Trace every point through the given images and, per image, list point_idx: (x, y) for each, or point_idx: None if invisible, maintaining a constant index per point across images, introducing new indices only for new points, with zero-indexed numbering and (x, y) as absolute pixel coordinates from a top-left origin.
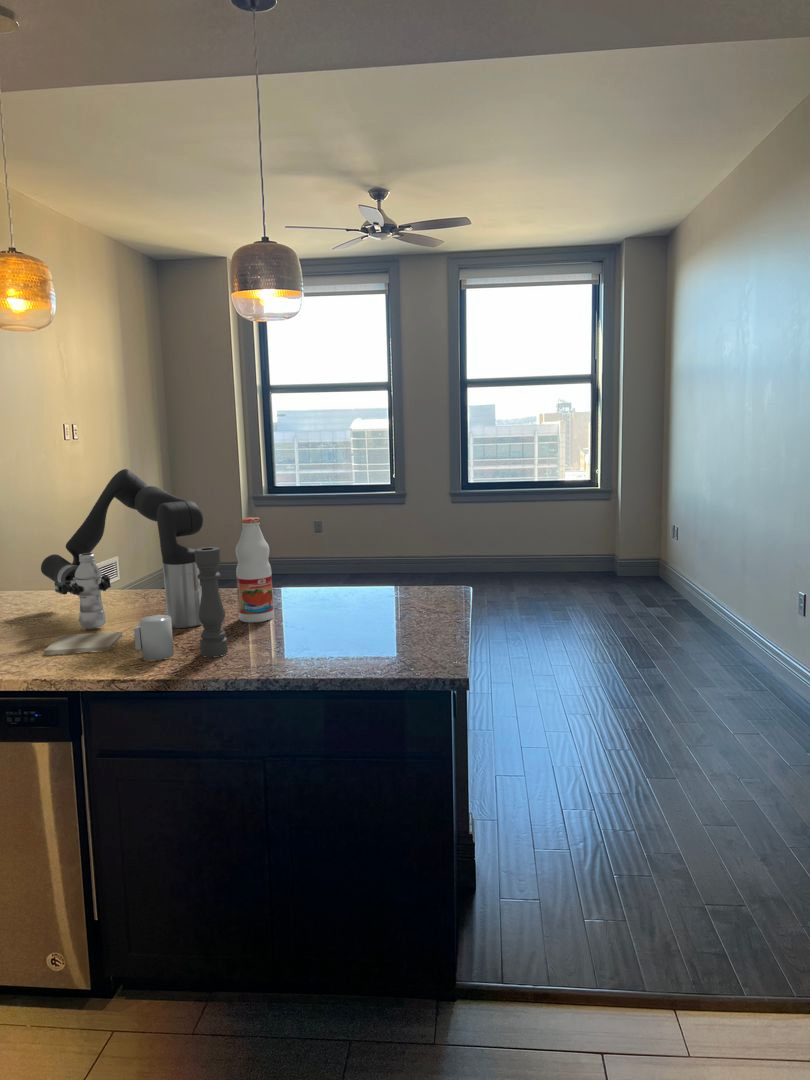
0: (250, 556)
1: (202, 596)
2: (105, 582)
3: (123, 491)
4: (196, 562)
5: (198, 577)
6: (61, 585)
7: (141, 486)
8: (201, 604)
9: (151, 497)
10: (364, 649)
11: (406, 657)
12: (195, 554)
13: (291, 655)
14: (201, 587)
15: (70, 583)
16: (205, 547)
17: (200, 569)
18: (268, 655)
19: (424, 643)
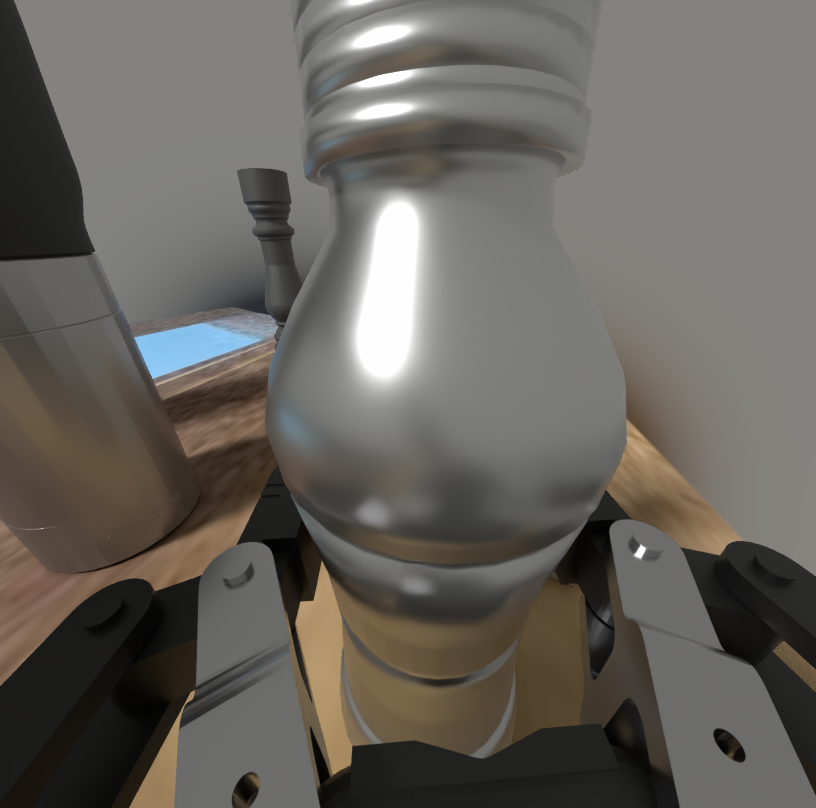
0: None
1: (295, 267)
2: (257, 509)
3: None
4: (289, 199)
5: (293, 230)
6: (797, 565)
7: None
8: (300, 281)
9: None
10: (192, 333)
11: (202, 321)
12: (286, 181)
13: (250, 341)
14: (291, 251)
15: (701, 608)
16: (249, 168)
17: (288, 214)
18: (264, 346)
19: (147, 328)
